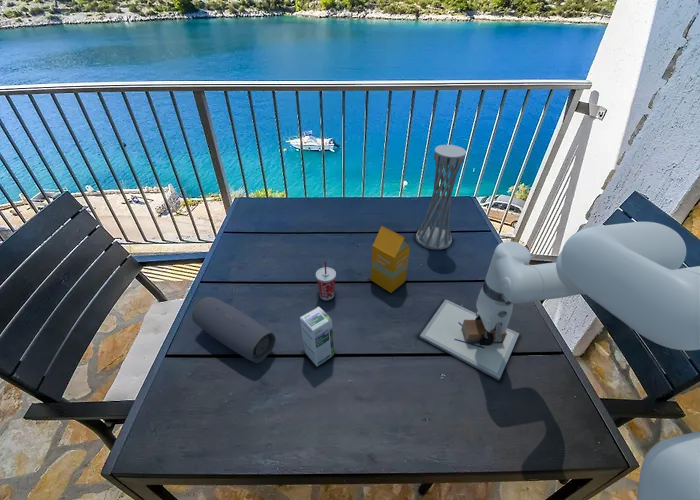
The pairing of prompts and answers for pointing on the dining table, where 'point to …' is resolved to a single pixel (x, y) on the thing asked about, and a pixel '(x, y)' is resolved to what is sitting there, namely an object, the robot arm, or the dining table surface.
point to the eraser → (476, 332)
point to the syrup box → (317, 335)
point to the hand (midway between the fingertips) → (482, 335)
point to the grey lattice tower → (434, 235)
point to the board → (451, 340)
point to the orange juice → (389, 259)
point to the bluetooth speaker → (234, 329)
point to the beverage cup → (326, 282)
